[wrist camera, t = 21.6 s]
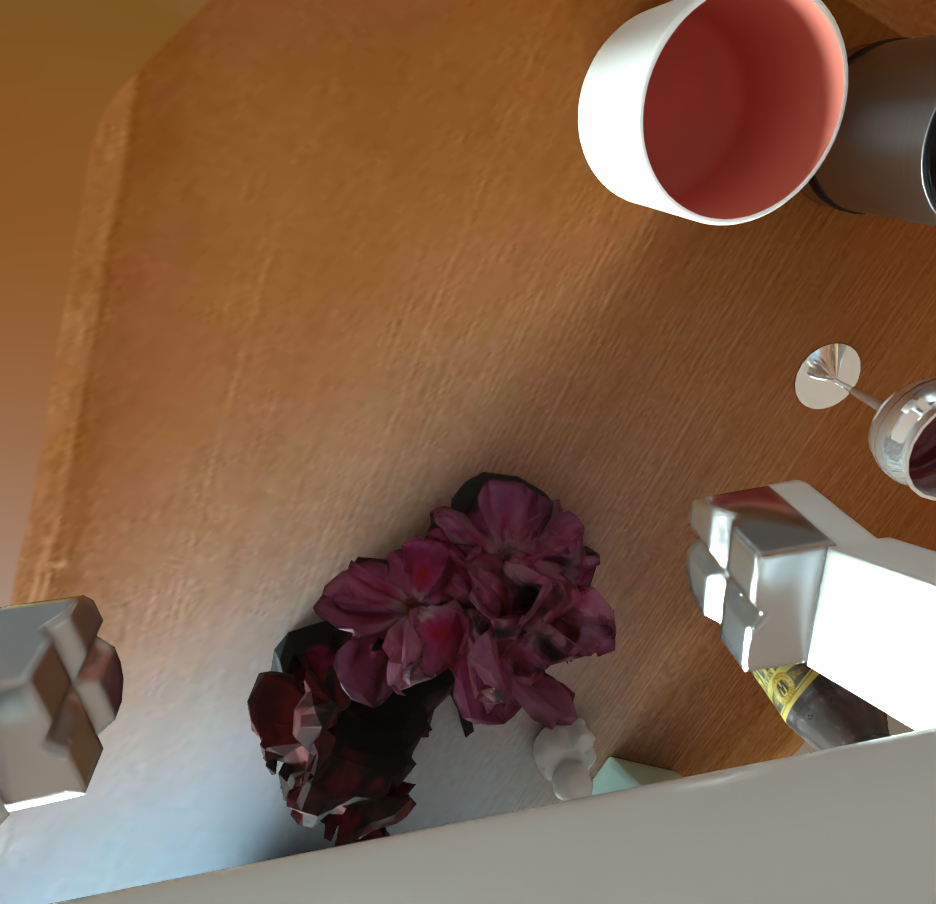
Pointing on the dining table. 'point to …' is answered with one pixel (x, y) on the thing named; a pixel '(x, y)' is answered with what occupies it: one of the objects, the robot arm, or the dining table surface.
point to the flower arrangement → (428, 652)
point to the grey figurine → (566, 759)
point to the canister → (885, 135)
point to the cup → (715, 106)
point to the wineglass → (879, 415)
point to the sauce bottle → (821, 707)
